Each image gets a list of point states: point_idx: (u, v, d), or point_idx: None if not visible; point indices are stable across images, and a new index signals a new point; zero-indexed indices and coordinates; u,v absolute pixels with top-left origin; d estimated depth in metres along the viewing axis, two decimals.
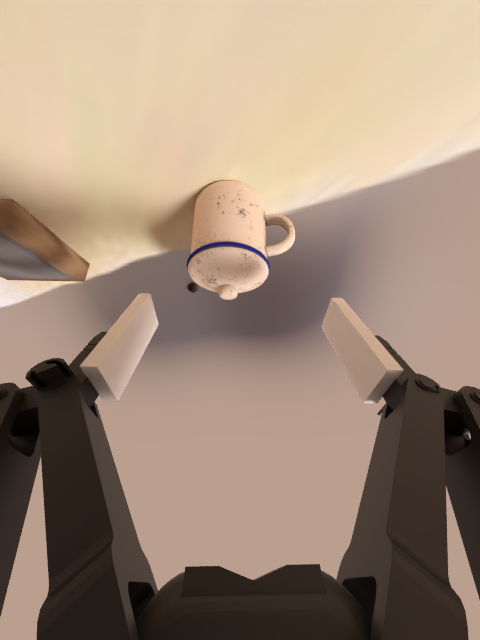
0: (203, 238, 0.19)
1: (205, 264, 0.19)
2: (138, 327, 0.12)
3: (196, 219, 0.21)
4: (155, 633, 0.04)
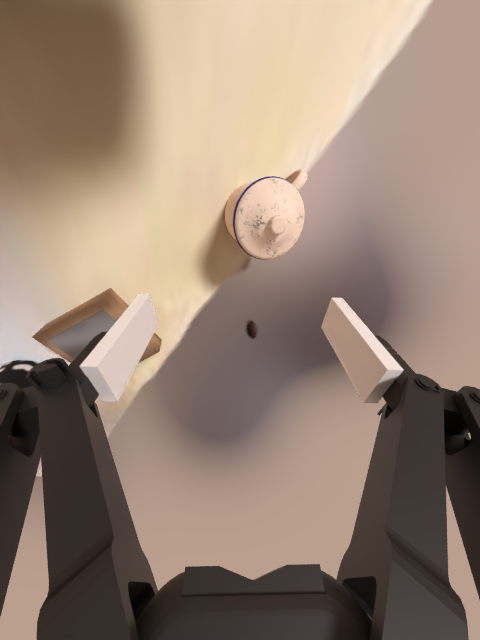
0: (238, 200, 0.23)
1: (247, 209, 0.22)
2: (138, 327, 0.12)
3: (228, 212, 0.27)
4: (155, 633, 0.04)
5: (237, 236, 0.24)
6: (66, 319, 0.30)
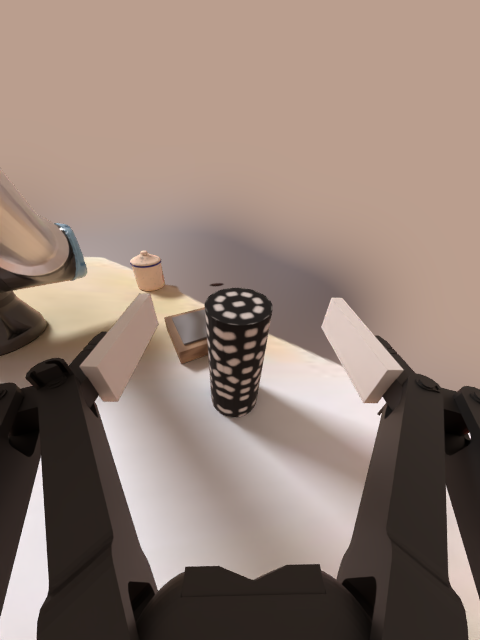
0: (135, 269, 0.61)
1: (137, 261, 0.60)
2: (138, 327, 0.12)
3: (143, 280, 0.62)
4: (155, 633, 0.04)
5: (146, 265, 0.60)
6: (172, 334, 0.44)
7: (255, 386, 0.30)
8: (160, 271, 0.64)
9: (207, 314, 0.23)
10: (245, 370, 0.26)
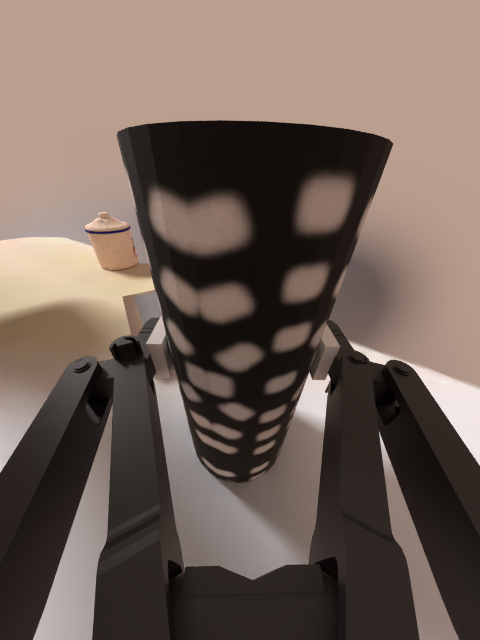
0: (92, 238, 0.43)
1: (93, 226, 0.42)
2: None
3: (104, 254, 0.45)
4: (186, 622, 0.04)
5: (106, 230, 0.42)
6: (129, 319, 0.26)
7: (290, 418, 0.13)
8: (129, 242, 0.47)
9: (121, 148, 0.05)
10: (274, 385, 0.08)
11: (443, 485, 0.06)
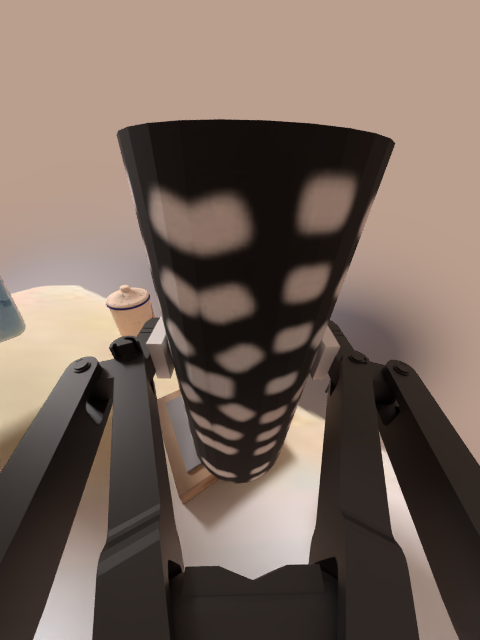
0: (113, 312, 0.43)
1: (114, 302, 0.42)
2: None
3: (124, 326, 0.45)
4: (186, 622, 0.04)
5: (128, 306, 0.42)
6: (166, 442, 0.26)
7: (291, 419, 0.12)
8: (149, 311, 0.47)
9: (121, 148, 0.05)
10: (275, 386, 0.08)
11: (443, 485, 0.06)
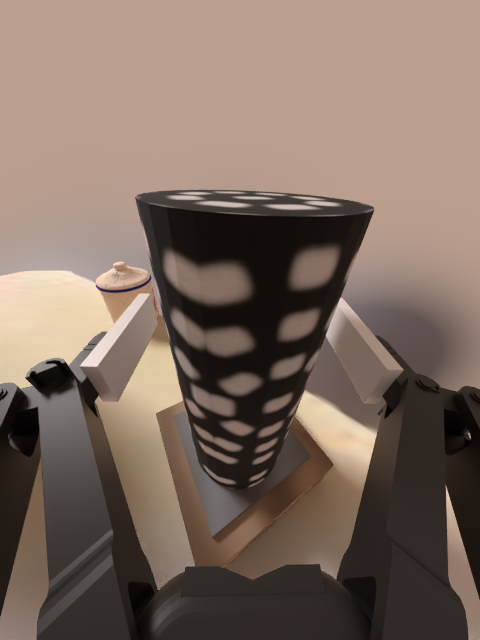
0: (105, 296, 0.34)
1: (106, 282, 0.33)
2: (138, 327, 0.12)
3: (119, 313, 0.36)
4: (155, 633, 0.04)
5: (123, 288, 0.33)
6: (176, 479, 0.17)
7: (287, 430, 0.13)
8: None
9: (140, 210, 0.06)
10: (272, 405, 0.09)
11: None
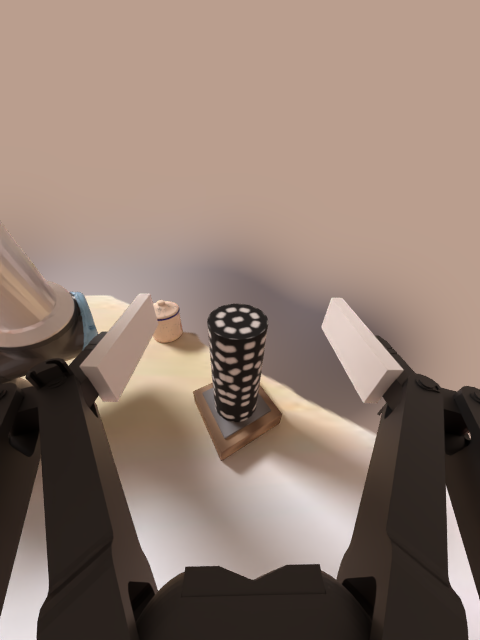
0: None
1: None
2: (138, 327, 0.12)
3: (160, 333, 0.55)
4: (155, 633, 0.04)
5: (164, 317, 0.53)
6: (206, 419, 0.36)
7: (255, 392, 0.33)
8: (178, 320, 0.57)
9: (210, 330, 0.26)
10: (245, 379, 0.29)
11: None
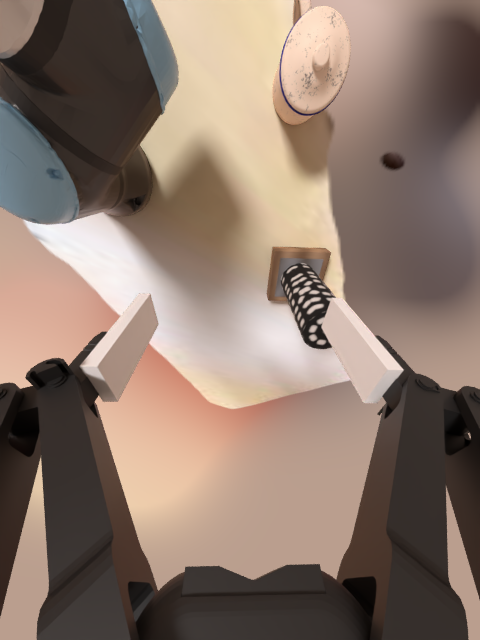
0: (282, 94, 0.28)
1: (292, 87, 0.26)
2: (138, 327, 0.12)
3: (284, 112, 0.32)
4: (155, 633, 0.04)
5: (304, 112, 0.28)
6: (272, 279, 0.49)
7: None
8: None
9: (302, 329, 0.33)
10: None
11: None
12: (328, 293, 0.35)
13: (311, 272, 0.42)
